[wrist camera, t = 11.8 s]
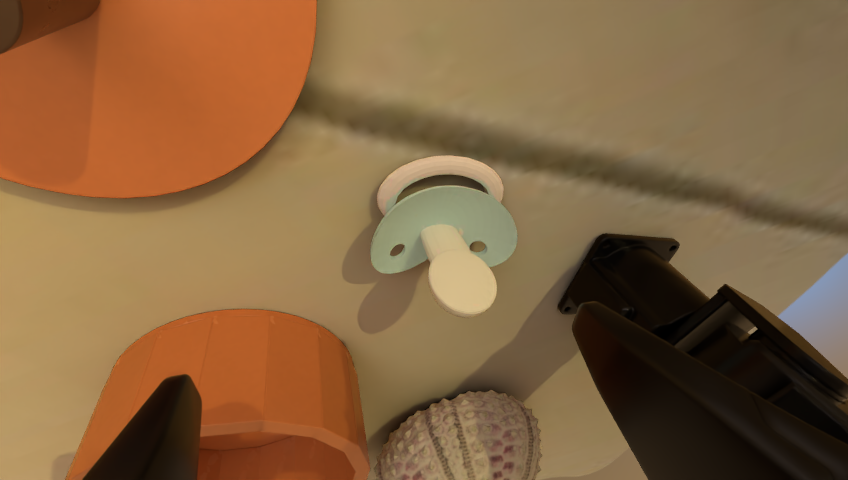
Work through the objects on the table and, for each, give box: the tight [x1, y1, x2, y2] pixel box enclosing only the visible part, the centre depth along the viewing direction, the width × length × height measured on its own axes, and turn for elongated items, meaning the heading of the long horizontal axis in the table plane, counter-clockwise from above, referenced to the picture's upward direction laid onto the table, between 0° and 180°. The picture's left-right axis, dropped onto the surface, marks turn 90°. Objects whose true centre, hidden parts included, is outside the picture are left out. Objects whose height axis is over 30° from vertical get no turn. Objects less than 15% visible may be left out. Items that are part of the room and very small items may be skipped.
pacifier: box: [370, 155, 517, 317], centre depth 18 cm, size 7×6×6 cm
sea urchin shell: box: [374, 390, 542, 480], centre depth 31 cm, size 13×14×8 cm
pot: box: [65, 309, 370, 480], centre depth 23 cm, size 14×14×6 cm
